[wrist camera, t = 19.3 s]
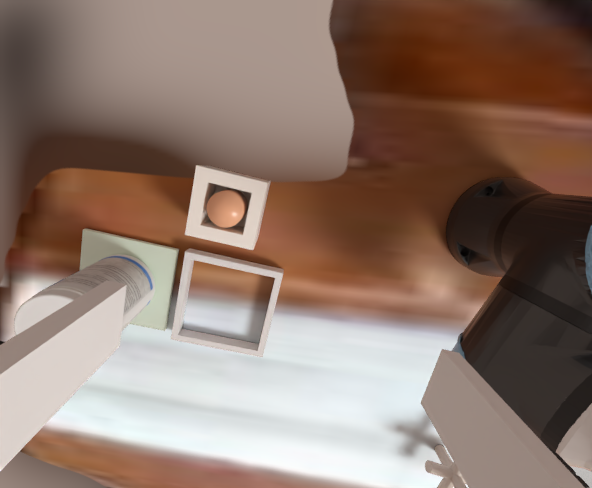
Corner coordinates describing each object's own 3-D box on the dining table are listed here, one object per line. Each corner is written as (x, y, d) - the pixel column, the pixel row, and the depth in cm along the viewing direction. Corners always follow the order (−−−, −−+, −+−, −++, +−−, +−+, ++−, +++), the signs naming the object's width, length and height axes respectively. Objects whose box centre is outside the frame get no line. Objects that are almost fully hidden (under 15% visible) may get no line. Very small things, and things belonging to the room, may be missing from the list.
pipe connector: (404, 460, 58) (428, 519, 48) (428, 420, 56) (458, 473, 46) (449, 474, 59) (480, 534, 50) (474, 436, 57) (512, 490, 47)
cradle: (283, 269, 48) (283, 273, 46) (263, 350, 51) (262, 357, 49) (189, 248, 46) (185, 251, 45) (175, 332, 50) (170, 339, 48)
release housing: (270, 180, 44) (267, 182, 38) (258, 238, 46) (253, 250, 40) (210, 165, 44) (196, 165, 37) (200, 225, 46) (184, 234, 39)
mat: (179, 249, 46) (177, 250, 46) (166, 328, 50) (164, 330, 49) (86, 228, 45) (82, 229, 44) (79, 310, 48) (76, 313, 48)
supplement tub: (96, 247, 45) (9, 283, 31) (160, 258, 46) (103, 299, 32) (94, 305, 47) (11, 364, 33) (154, 315, 48) (99, 377, 34)
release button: (251, 193, 42) (246, 196, 38) (244, 224, 43) (239, 231, 39) (219, 185, 42) (210, 187, 37) (213, 216, 43) (203, 222, 38)
